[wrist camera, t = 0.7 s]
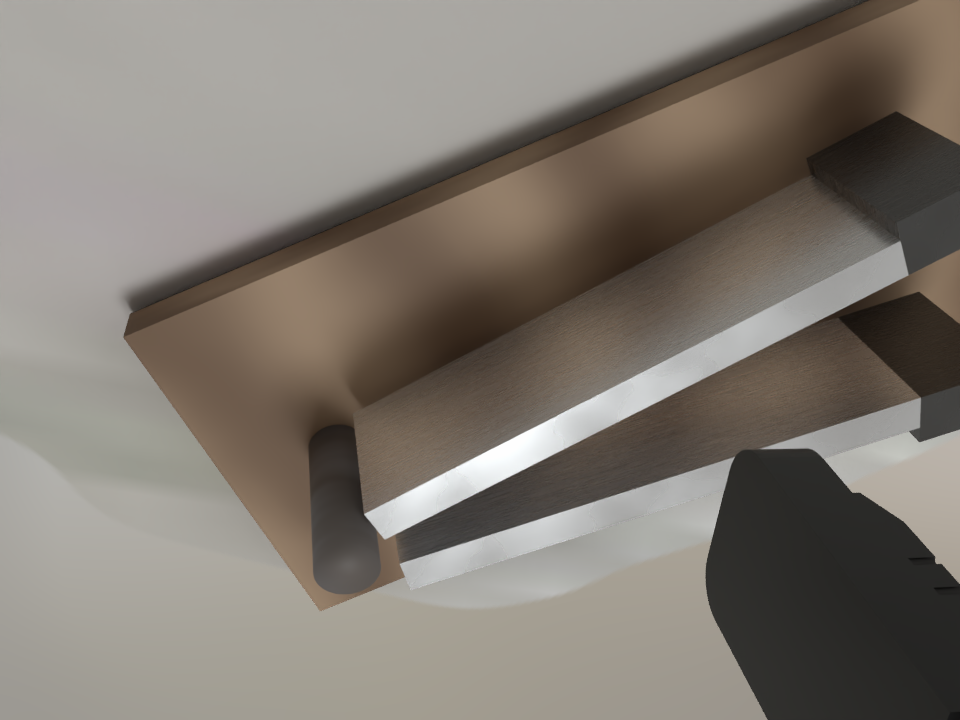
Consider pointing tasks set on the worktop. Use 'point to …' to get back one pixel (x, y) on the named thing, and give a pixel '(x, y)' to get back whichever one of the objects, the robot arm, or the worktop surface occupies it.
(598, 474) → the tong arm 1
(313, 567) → the tong rest
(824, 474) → the robot arm
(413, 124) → the worktop surface
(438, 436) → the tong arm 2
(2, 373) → the worktop surface
